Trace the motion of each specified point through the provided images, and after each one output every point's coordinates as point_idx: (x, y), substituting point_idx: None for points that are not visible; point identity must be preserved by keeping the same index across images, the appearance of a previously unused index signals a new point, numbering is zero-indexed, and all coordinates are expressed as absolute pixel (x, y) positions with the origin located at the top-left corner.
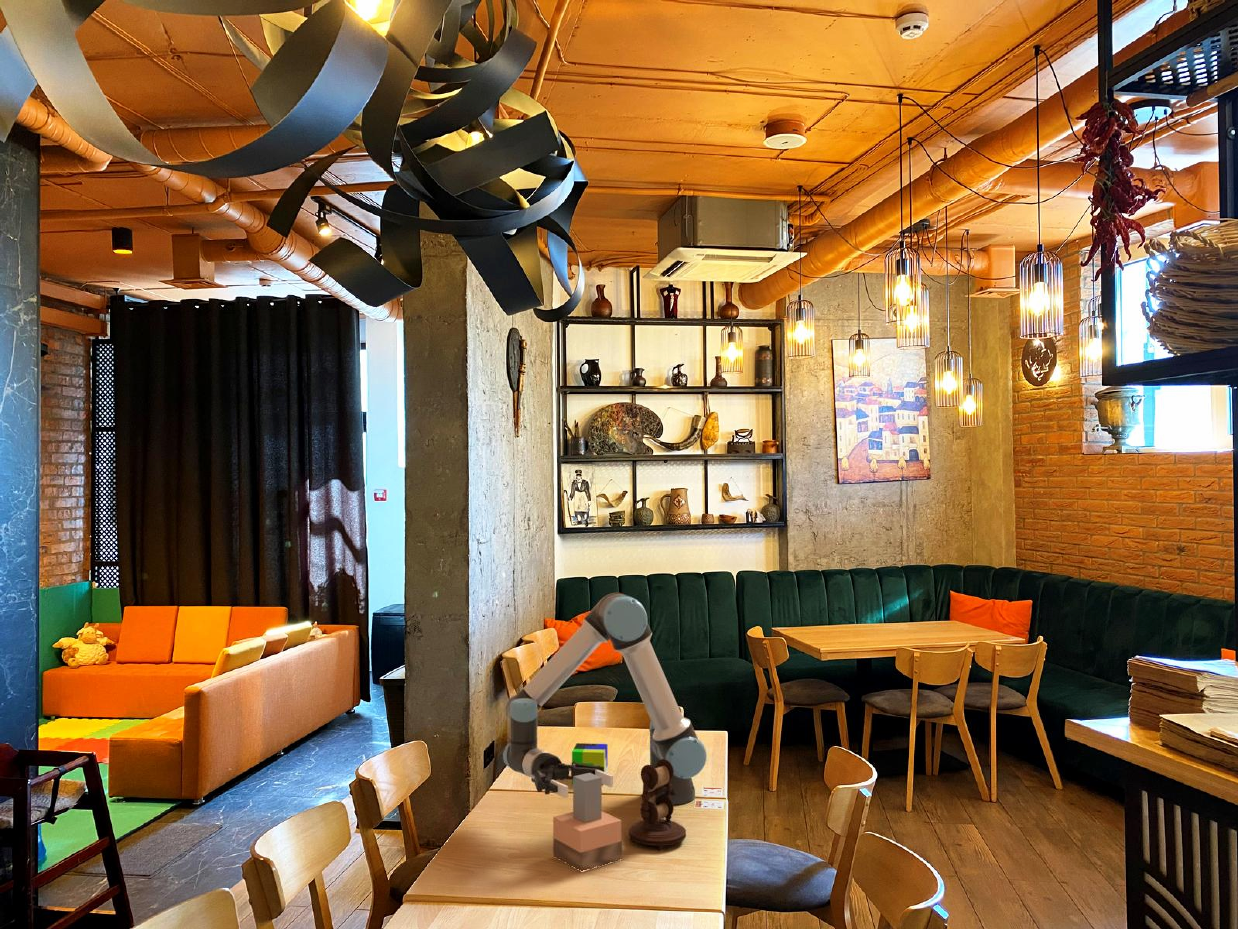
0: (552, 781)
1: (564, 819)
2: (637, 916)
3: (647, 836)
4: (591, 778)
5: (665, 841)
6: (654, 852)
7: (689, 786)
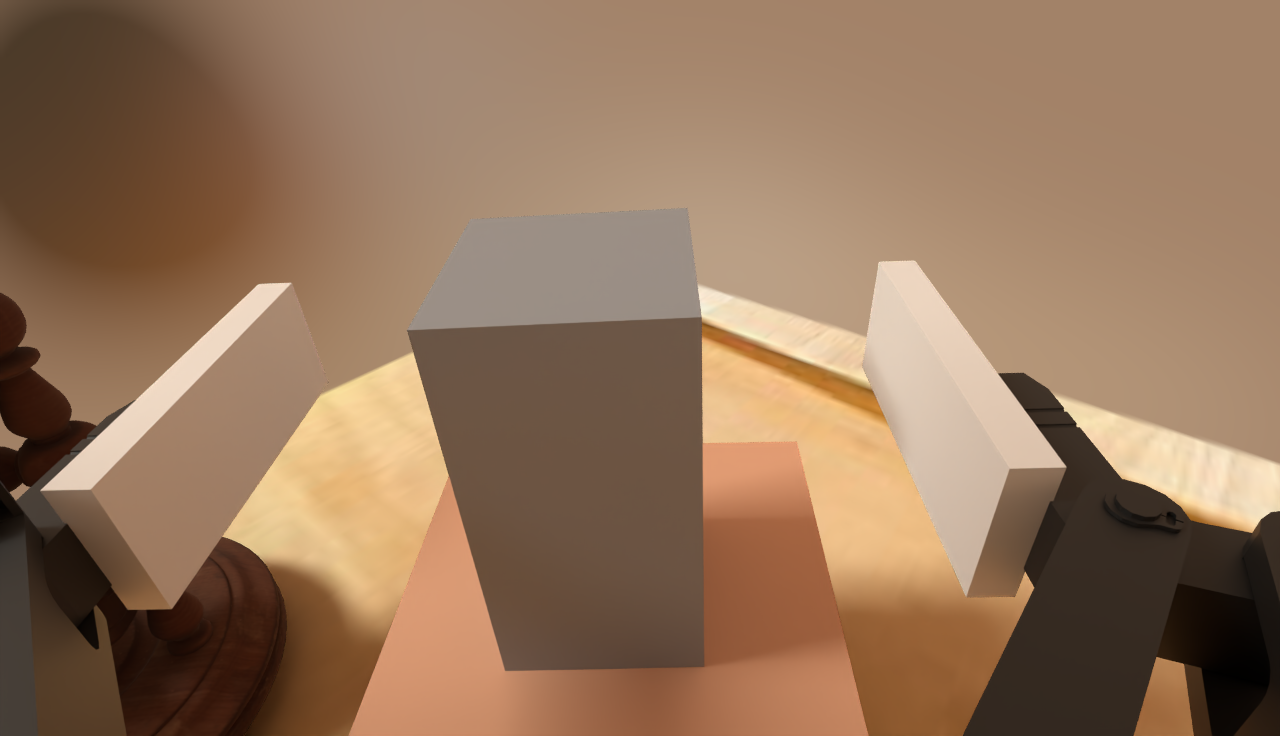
0: (1037, 432)
1: (803, 674)
2: (771, 318)
3: (247, 600)
4: (573, 226)
5: (235, 542)
6: (297, 599)
7: None
